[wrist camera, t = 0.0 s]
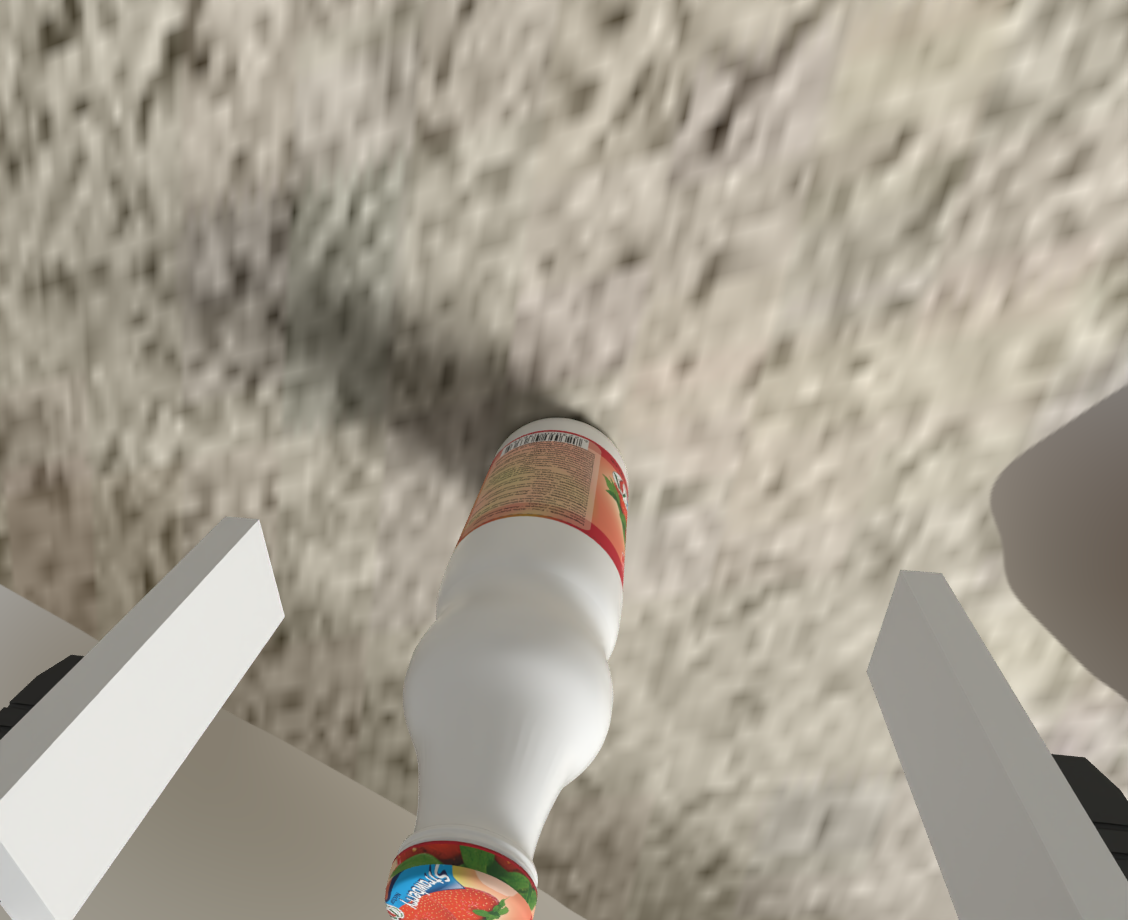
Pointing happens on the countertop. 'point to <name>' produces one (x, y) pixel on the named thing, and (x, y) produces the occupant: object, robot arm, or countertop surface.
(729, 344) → the countertop surface
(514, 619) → the fruit juice
